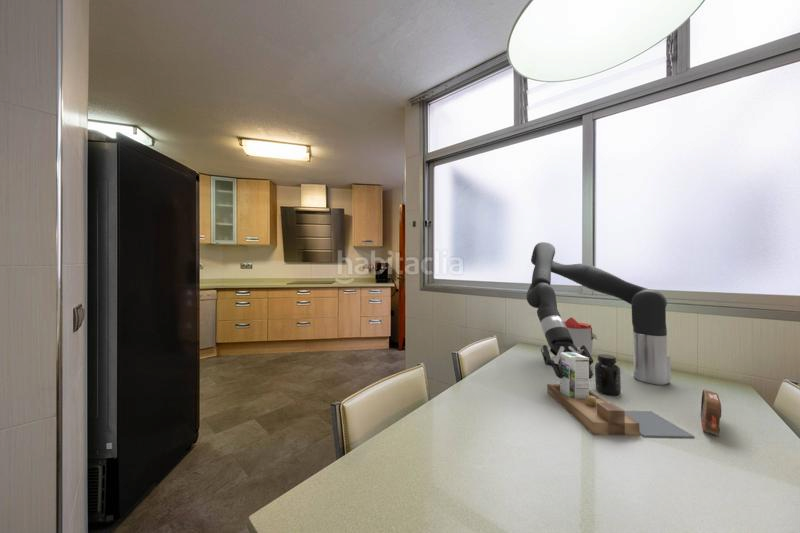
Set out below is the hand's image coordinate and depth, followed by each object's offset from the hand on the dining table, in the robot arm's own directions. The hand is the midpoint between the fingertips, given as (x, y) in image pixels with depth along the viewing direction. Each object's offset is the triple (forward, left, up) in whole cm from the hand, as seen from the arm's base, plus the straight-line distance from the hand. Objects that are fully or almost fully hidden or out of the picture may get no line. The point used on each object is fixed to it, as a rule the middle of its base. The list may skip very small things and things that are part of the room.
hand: (575, 377), depth 84 cm
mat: (-12, +11, -8) cm, 18 cm away
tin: (-27, +12, -8) cm, 31 cm away
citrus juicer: (-21, -37, -8) cm, 43 cm away
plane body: (0, +5, -8) cm, 9 cm away
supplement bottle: (-15, -8, -8) cm, 19 cm away
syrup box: (0, -1, -8) cm, 8 cm away
